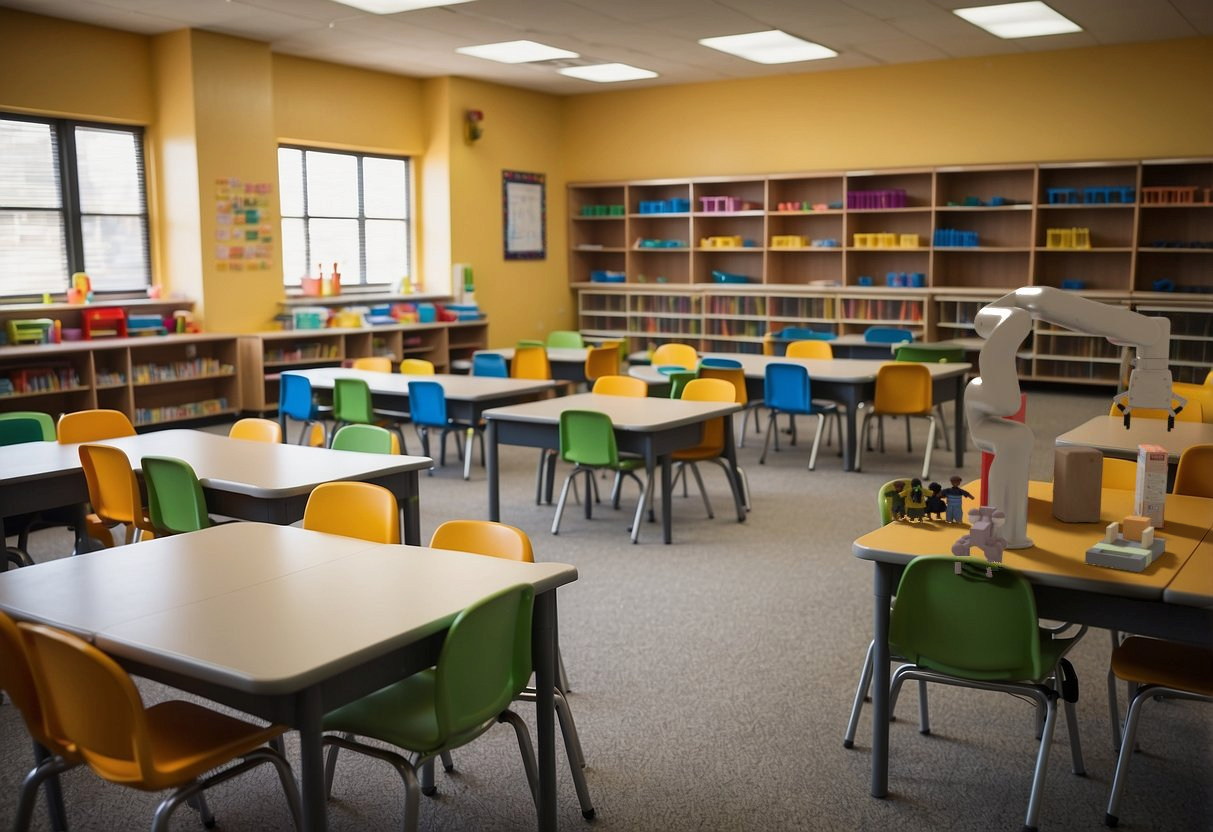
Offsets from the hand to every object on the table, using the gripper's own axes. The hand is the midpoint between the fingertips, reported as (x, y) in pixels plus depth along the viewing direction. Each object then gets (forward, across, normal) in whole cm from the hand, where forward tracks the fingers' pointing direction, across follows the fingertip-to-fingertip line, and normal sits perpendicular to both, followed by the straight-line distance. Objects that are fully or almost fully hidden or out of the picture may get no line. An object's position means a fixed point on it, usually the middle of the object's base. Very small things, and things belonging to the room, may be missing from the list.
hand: (1148, 430), depth 282 cm
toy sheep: (+27, -31, -54) cm, 68 cm away
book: (+28, -40, +22) cm, 53 cm away
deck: (+27, -2, -30) cm, 40 cm away
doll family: (+28, -53, -12) cm, 61 cm away
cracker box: (+28, +1, +12) cm, 30 cm away
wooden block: (+28, -17, +8) cm, 33 cm away
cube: (+24, 0, -21) cm, 32 cm away
